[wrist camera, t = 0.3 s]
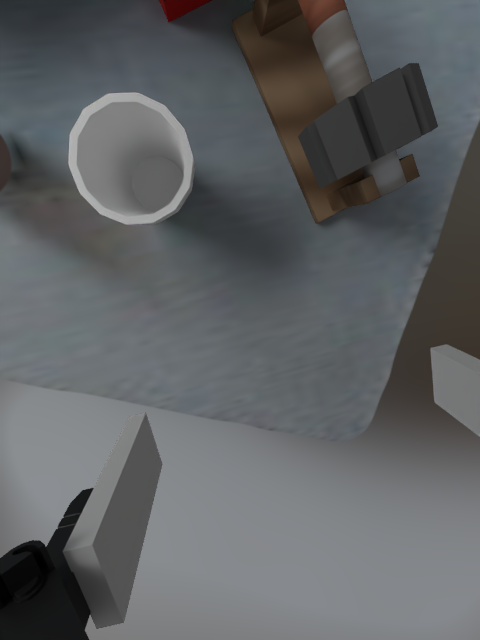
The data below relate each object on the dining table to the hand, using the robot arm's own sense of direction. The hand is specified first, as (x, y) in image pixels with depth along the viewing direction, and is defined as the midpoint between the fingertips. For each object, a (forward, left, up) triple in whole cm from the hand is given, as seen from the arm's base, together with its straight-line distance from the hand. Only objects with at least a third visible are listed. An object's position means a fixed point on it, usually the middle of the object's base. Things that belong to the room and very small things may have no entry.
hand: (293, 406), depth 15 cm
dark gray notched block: (-10, +16, -19) cm, 27 cm away
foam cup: (-16, -3, -28) cm, 33 cm away
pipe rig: (-15, +16, -28) cm, 36 cm away
